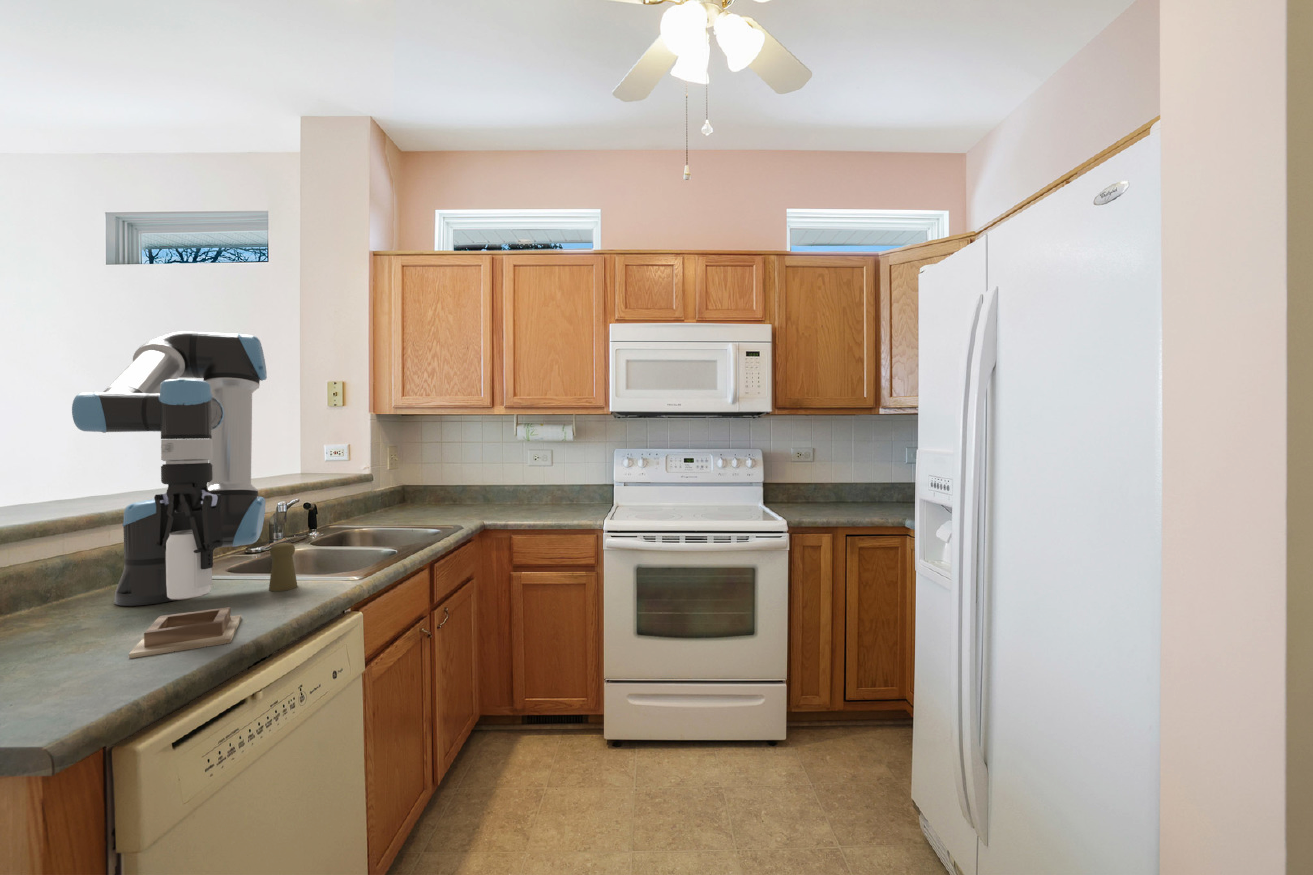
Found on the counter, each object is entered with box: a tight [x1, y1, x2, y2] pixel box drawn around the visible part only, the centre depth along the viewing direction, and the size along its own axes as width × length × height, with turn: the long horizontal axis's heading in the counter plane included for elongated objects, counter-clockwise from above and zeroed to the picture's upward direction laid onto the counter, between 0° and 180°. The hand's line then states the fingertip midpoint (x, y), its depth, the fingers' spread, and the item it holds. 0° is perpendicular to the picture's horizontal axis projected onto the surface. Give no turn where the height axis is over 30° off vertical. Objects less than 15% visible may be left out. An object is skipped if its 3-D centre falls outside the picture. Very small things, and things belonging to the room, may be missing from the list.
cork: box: [268, 542, 298, 592], centre depth 144 cm, size 6×6×11 cm
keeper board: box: [128, 606, 242, 659], centre depth 110 cm, size 16×14×3 cm
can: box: [166, 530, 212, 601], centre depth 109 cm, size 6×6×12 cm
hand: (189, 584), depth 109 cm, fingers closed on can, 6 cm apart
